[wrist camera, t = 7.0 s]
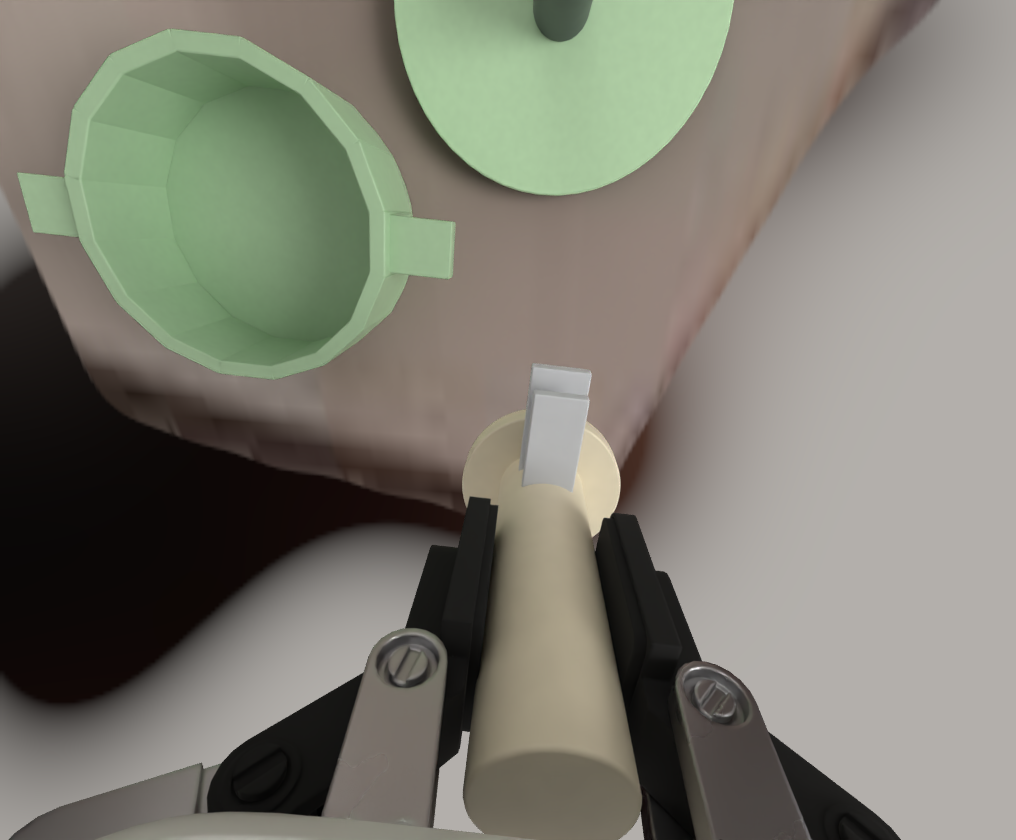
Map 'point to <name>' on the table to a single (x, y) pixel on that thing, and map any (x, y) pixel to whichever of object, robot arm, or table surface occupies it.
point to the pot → (235, 205)
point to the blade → (548, 628)
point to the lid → (559, 82)
